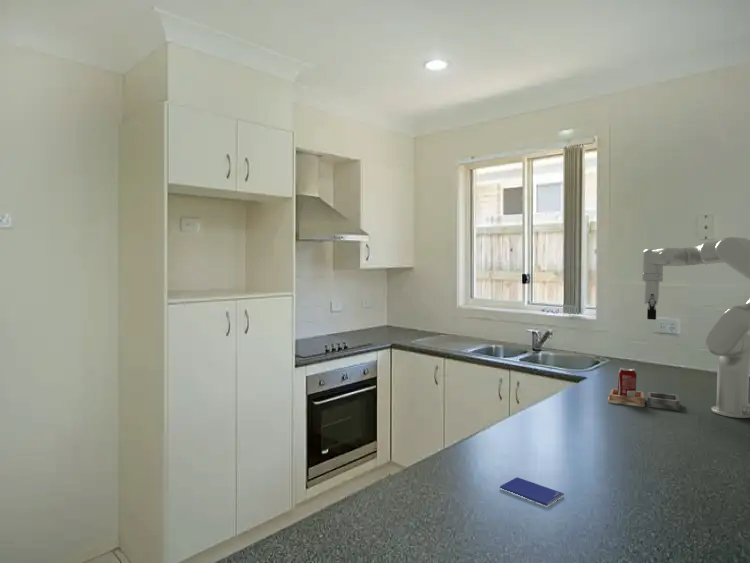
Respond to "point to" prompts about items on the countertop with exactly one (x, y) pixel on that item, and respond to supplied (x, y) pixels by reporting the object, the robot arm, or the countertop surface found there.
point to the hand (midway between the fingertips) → (651, 318)
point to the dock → (653, 400)
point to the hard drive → (532, 491)
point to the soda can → (626, 382)
